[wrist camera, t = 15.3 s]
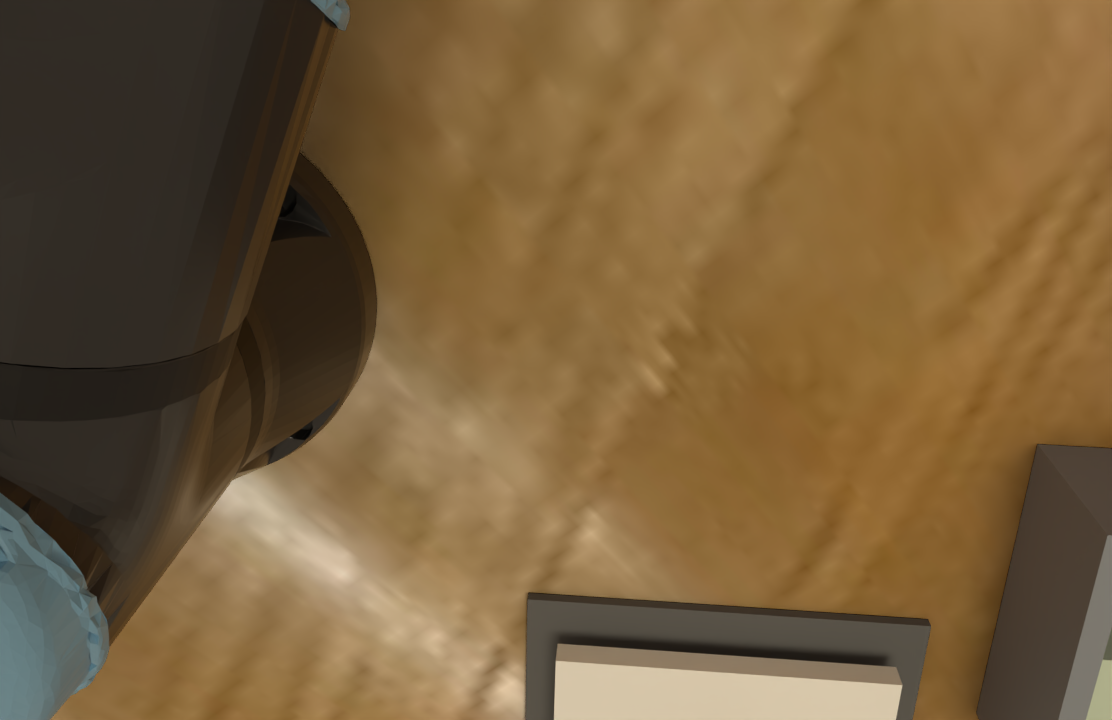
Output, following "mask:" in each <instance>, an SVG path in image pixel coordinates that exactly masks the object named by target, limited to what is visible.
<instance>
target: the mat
mask: <svg viewBox="0 0 1112 720" xmlns="http://www.w3.org/2000/svg"><path fill="white" fill-rule="evenodd" d="M930 629H931V625H930V623H929V620H928V619H914V618H899V617H884V616H869V615H854V614H839V613H824V612H808V611H793V610H778V609H763V608H748V607H733V606H718V605H703V604H688V603H673V602H658V601H643V600H628V599H613V598H598V597H582V596H567V595H552V594H537V593H529V594H528V606H527V664H526V720H554V699H555V667H556V654H557V645H558V644H571V645H585V646H600V647H614V648H629V649H643V650H658V651H672V652H686V653H701V654H715V655H730V656H744V657H759V658H773V659H788V660H802V661H816V662H831V663H845V664H860V665H874V666H889V667H896V668H897V671H898V674H899V677H900V679H901V682H902V690H901V696H900V701H899V706H898V711H897V717H896V720H912V719H913V714H914V709H915V704H916V699H917V694H918V689H919V684H920V679H921V674H922V669H923V664H924V659H925V654H926V649H927V644H928V639H929V634H930Z"/></svg>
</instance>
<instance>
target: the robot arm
mask: <svg viewBox="0 0 1112 720" xmlns="http://www.w3.org/2000/svg"><path fill="white" fill-rule="evenodd" d="M349 19H350V8H349V6H348V4H347V2H346V0H0V720H50V719H51V718H52V717H53V716H54V714H55V713H56V712H57V711H58V710H59V709H60V707H61V706H62V705H63V704H64V703H65V701H66V700H67V699H68V698H69V697H70V696H71V695H73V694H76V693H77V692H78V691H79V690H80V689H83V688H85V687H87V686H88V685H89V684H90V683H91V682H92V681H93V679H94V677H95V675H96V674H97V673H98V672H99V671H100V670H101V668H102V666H103V665H104V663H105V661H106V659H107V655H108V652H109V647H110V646H111V644H112V643H113V641H114V640H115V639H116V637H117V636H118V635H119V633H120V632H121V631H122V629H123V628H124V627H125V625H126V624H127V622H128V621H129V620H130V618H131V617H132V616H133V614H134V613H135V612H136V610H137V609H138V608H139V606H140V605H141V604H142V602H143V601H144V599H145V598H146V597H147V595H148V594H149V593H150V591H151V590H152V589H153V587H154V586H155V585H156V583H157V582H158V580H159V579H160V578H161V576H162V575H163V574H164V572H165V571H166V570H167V568H168V567H169V566H170V564H171V563H172V561H173V560H174V559H175V557H176V556H177V555H178V553H179V552H180V551H181V549H182V548H183V547H184V545H185V544H186V542H187V541H188V540H189V538H190V537H191V536H192V534H193V533H194V532H195V530H196V529H197V528H198V526H199V525H200V524H201V522H202V521H203V519H204V518H205V517H206V515H207V514H208V513H209V511H210V510H211V509H212V507H213V506H214V505H215V503H216V502H217V500H218V499H219V498H220V496H221V495H222V494H223V492H224V491H225V490H226V488H227V487H228V486H229V484H230V482H231V481H232V480H234V479H236V478H239V477H241V476H243V475H246V474H248V473H250V472H252V471H255V470H257V469H259V468H262V467H264V466H266V465H268V464H271V463H273V462H275V461H277V460H279V459H281V458H283V457H285V456H287V455H289V454H291V453H292V452H294V451H295V450H297V449H299V448H300V447H302V446H303V445H304V444H306V443H307V442H308V441H309V440H311V439H312V438H313V437H314V436H315V435H316V434H317V433H319V432H320V431H321V430H322V429H323V428H324V427H325V426H326V425H327V424H328V423H329V421H330V420H331V419H332V418H333V417H334V415H335V414H336V413H337V412H338V410H339V409H340V407H341V406H342V404H343V403H344V401H345V400H346V398H347V396H348V395H349V393H350V392H351V390H352V389H353V387H354V385H355V384H356V382H357V381H358V379H359V377H360V375H361V373H362V371H363V369H364V366H365V364H366V362H367V359H368V356H369V353H370V350H371V346H372V342H373V338H374V332H375V325H376V288H375V281H374V274H373V270H372V266H371V261H370V258H369V255H368V251H367V248H366V245H365V243H364V240H363V238H362V235H361V233H360V231H359V229H358V227H357V225H356V222H355V220H354V219H353V217H352V215H351V213H350V212H349V210H348V208H347V207H346V205H345V204H344V202H343V201H342V199H341V198H340V196H339V195H338V193H337V192H336V191H335V189H334V188H333V187H332V186H331V184H330V183H329V182H328V181H327V180H326V179H325V177H324V176H323V175H322V174H321V173H320V172H319V171H318V170H317V169H316V168H315V167H314V166H313V165H312V164H311V163H310V162H309V161H308V160H307V159H305V158H304V157H303V156H302V155H301V154H300V153H299V151H300V148H301V145H302V142H303V138H304V135H305V132H306V129H307V126H308V123H309V120H310V117H311V113H312V110H313V107H314V104H315V101H316V98H317V95H318V92H319V88H320V85H321V82H322V79H323V76H324V73H325V70H326V67H327V63H328V60H329V57H330V54H331V51H332V48H333V45H334V42H335V38H336V35H337V32H338V29H340V30H343V31H346V28H347V25H348V22H349Z"/></svg>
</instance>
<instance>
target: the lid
mask: <svg viewBox="0 0 1112 720" xmlns="http://www.w3.org/2000/svg"><path fill="white" fill-rule="evenodd" d="M901 690H902V682H901V679H900V677H899V674H898V671H897V668H896V667H889V666H874V665H860V664H845V663H831V662H816V661H802V660H788V659H773V658H759V657H744V656H730V655H715V654H701V653H686V652H672V651H658V650H643V649H629V648H614V647H600V646H585V645H571V644H558V645H557V654H556V667H555V699H554V720H896V717H897V711H898V706H899V701H900V696H901Z"/></svg>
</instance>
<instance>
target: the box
mask: <svg viewBox="0 0 1112 720" xmlns="http://www.w3.org/2000/svg"><path fill="white" fill-rule="evenodd" d="M976 713H977V715H978V718H979V720H1112V448H1095V447H1077V446H1059V445H1041V444H1038V445H1037V449H1036V453H1035V458H1034V462H1033V466H1032V471H1031V475H1030V480H1029V484H1028V488H1027V493H1026V497H1025V502H1024V506H1023V510H1022V515H1021V519H1020V523H1019V528H1018V532H1017V537H1016V541H1015V545H1014V550H1013V554H1012V559H1011V563H1010V567H1009V572H1008V576H1007V580H1006V585H1005V589H1004V594H1003V598H1002V602H1001V607H1000V611H999V616H998V620H997V624H996V629H995V633H994V637H993V642H992V646H991V651H990V655H989V659H988V664H987V668H986V673H985V677H984V681H983V686H982V690H981V694H980V699H979V703H978V708H977V712H976Z"/></svg>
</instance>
